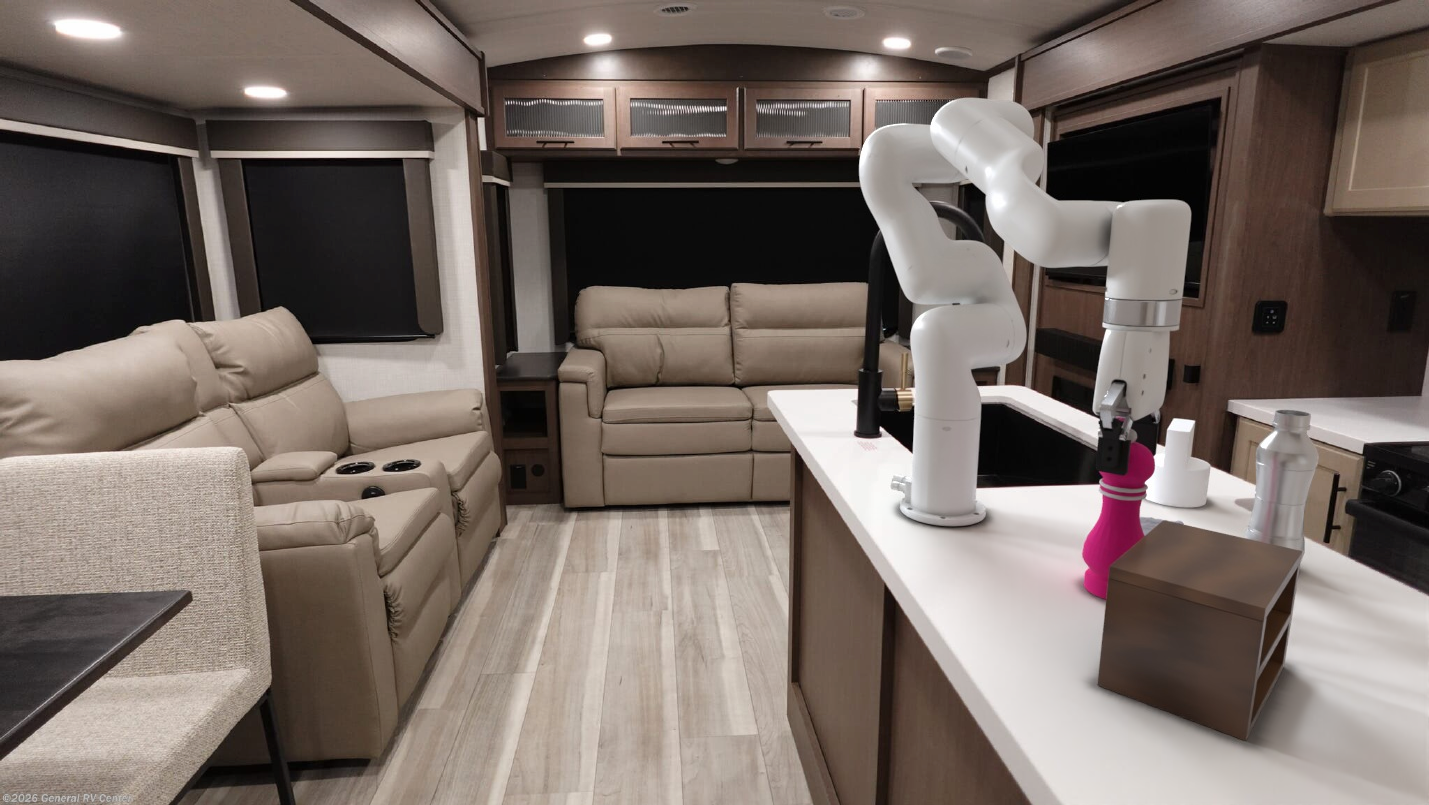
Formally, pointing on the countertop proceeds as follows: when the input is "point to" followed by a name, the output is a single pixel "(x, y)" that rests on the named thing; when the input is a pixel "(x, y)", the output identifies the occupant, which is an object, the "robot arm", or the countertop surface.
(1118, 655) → the shelf
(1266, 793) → the countertop surface
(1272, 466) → the silver metal bottle
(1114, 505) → the pepper mill
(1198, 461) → the base with upright slab
